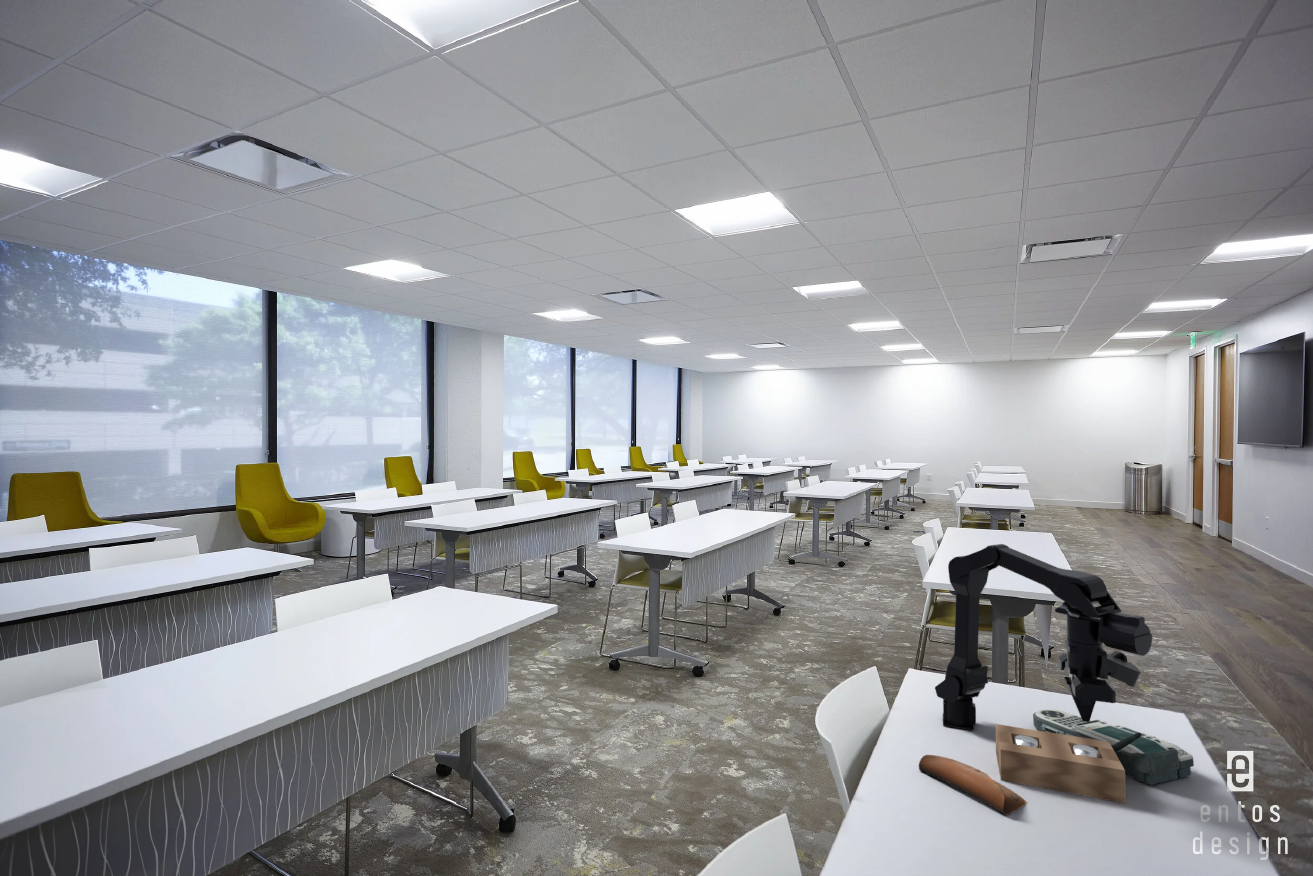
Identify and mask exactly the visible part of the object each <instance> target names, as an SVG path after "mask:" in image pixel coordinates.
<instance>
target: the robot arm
mask: <svg viewBox="0 0 1313 876" xmlns="http://www.w3.org/2000/svg"><path fill="white" fill-rule="evenodd" d="M947 566H948V567H947V569H948V577H949V583H950V585H951V586H952V588H953V590H954V592H955V610H954V611H955V612H954V614H955V615H954V644H953V645H954V646H953V647H954V648H953V649H954V650H953V655H952V657H951V658H950V660H949V661H948V664H947V666H946V670H945V677H944V680H942V681H941V682H940V683H938V684H937V685H936V686H934V689H935V690H934V691H935V694H936V696H937V698H940V699H942V700H943V701H942V705H943V707H942V708H943V709H942V710H943V712H942V726H944V727H949V728H956V729H961V730H967V731H975V726H976V725H977V714H976V713H977V709H976V708H977V707H976V703H975V702H974V701H973V698H978V697H979V695H980V693H981V691H983V690H985V687H986V684H989V680H988V671H989V667H988V666H987V665H984V664H982V662H981V660H980V657H979V654H978V653H979V631H980V630H979V628H980V627H979V624H980V623H979V621H980V596H981V594H982V592H983V590H984V588H985V586H986V585H987V583H988V579H989V578H988V577H989V572H990V571H992V570H994V569H997V568H998V567H1001V568H1003V569H1006V570H1008V571H1010V572H1012V573H1015V574H1016V575H1019V576H1021V577H1024V578H1025V579H1028V580H1030V581H1032V582H1035V583H1038V584H1040V585H1042V586H1044V587H1046V588H1047V589H1049V591H1051V592H1052V594H1053V595H1054V596H1055V597H1057V598H1058V599H1060V600H1062V601H1063V603H1062V604H1061V605H1059V606H1058V607H1056V608H1055V609H1054V612H1055V613H1057V614H1062V615H1065V616H1066V640H1064V646H1065V647H1066V652H1067V653H1062V654H1061V655H1060V656H1059V657H1058V668H1059V669H1060V671H1065V668H1066V670H1067V672H1068V676H1064V678H1063V679H1064V681H1065V683H1066V685H1067V688H1068V690H1069V693H1070V694H1071V697H1072V700H1073V701H1074V704H1075V706H1076V710H1077V711H1078V714H1079V717H1081V718H1082V720H1083V721H1085V722H1089V721H1090V720H1091V719H1092V716H1093V715H1092V714H1093V712H1094V709H1095V706H1096V705H1095V704H1096V702H1099V703H1100V702H1101V703H1107V704H1109V703H1110V704H1116V703H1117V701H1116V699H1117V698H1116V695H1117V694H1116V693H1117V692H1116V690H1115V689H1114V688H1113V687H1112V685H1111V684H1110V683H1108V681H1107V680H1109V678H1110V677H1111V678H1113V679H1115V680H1118V681H1119V682H1123V683H1125V684H1126V685H1127V686H1128V687H1133V688H1134V687H1135V686H1136V683H1137V682H1138V680H1139V677H1140V675H1141V671H1140V669H1139V668H1138V667H1137V666H1135V664H1133V663H1132V662H1130V661H1128V658H1127V655H1126V654H1125V653H1123V652H1126V653H1130V654H1134V655H1138V656H1141V657H1143V656H1146V655H1147V654H1148V653H1149V651H1150V650H1151V646H1152V643H1153V634H1152V633H1151V630H1150V628H1149V626H1148V625H1147V624H1146V619H1145V617H1144V616H1140V615H1132V614H1127V613H1123V612H1122V609H1121V608H1120V606H1119V605H1118V604H1117V602H1116V601H1115V599H1114V598H1113V596H1111V594H1110V592H1109V591H1108V589H1107V586H1106V584H1105V583H1104V580H1103V579H1102V578H1101V577H1100V576H1098V575H1095V574H1093V573H1088V572H1084V571H1080V570H1074V569H1065V568H1061V567H1057V566H1055V565H1052V564H1050V563H1048V562H1046V561H1042V560H1040V559H1038V558H1035V557H1033V556H1031V555H1028V554H1025V553H1023V552H1022V551H1019V550H1016V549H1013V548H1011V547H1010V546H1008V545H1006V544H1003V543H999V544H992V545H987V546H986V547H984V548H982V549H980V550H977V551H975V552H973V553H970V554H967V555H959V556H954V557H952V559H950V560H949V562H948V564H947ZM1094 605H1098V606H1094ZM1103 645H1104V646H1105V647H1106V648H1110V649H1115V651H1113V652H1111V653H1107V651H1106V650H1105V649H1104V647H1103Z"/></svg>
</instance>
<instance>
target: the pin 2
mask: <svg viewBox="0 0 1313 876" xmlns="http://www.w3.org/2000/svg"><path fill="white" fill-rule="evenodd" d="M1073 754H1078V755H1084V756H1090V757H1096V758H1098V751H1097V750H1096V749H1094V748H1092V747H1089V746H1086V745H1074V746H1073Z"/></svg>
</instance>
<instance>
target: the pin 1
mask: <svg viewBox="0 0 1313 876" xmlns="http://www.w3.org/2000/svg"><path fill="white" fill-rule="evenodd" d="M1015 744H1017V745H1023V746H1029V747H1035V748H1038V741H1037V740H1036V739H1034V738H1032V737H1029V736H1023V735H1018V736H1015Z"/></svg>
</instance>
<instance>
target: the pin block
mask: <svg viewBox="0 0 1313 876" xmlns="http://www.w3.org/2000/svg"><path fill="white" fill-rule="evenodd" d="M1018 735H1023V736H1029V737H1032V738H1034V739H1036V740H1037V741H1038V748H1035V747H1029V746H1023V745H1017V744H1015V736H1018ZM1074 745H1086V746H1089V747H1092V748H1094V749H1096V750H1097V751H1098V758H1096V757H1090V756H1084V755H1078V754H1073V746H1074ZM995 755H996V760H997V766H998V771H999V778H1000V781H1003V782H1008V783H1015V784H1020V785H1023V786H1024V785H1025V786H1031V787H1036V788H1042V789H1047V790H1052V791H1057V792H1062V793H1067V794H1073V795H1079V796H1083V797H1084V796H1085V797H1087V798H1088V797H1089V798H1094V799H1101V800H1106V801H1109V802H1110V801H1111V802H1116V803H1121V804H1126V775H1125V770H1124V768H1123V766H1122V764H1121V762H1120V761H1119V759H1118V757H1117V755H1116V753H1115V752H1114V750H1113V748H1112V746H1111V744H1110V743H1109V742H1108V741H1102V740H1095V739H1089V738H1082V737H1076V736H1069V735H1063V734H1057V733H1050V732H1044V731H1038V730H1037V729H1036V730H1035V729H1029V728H1023V727H1015V726H1010V725H1003V724H997V723H995Z"/></svg>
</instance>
